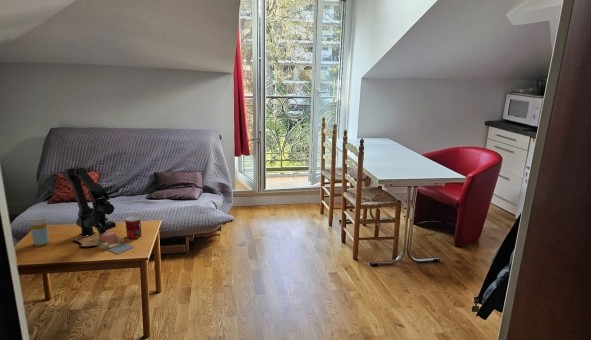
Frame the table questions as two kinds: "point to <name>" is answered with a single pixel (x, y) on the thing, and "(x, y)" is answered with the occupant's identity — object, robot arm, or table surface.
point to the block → (108, 237)
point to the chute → (107, 246)
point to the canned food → (133, 227)
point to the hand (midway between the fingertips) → (102, 237)
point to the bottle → (39, 231)
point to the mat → (120, 248)
